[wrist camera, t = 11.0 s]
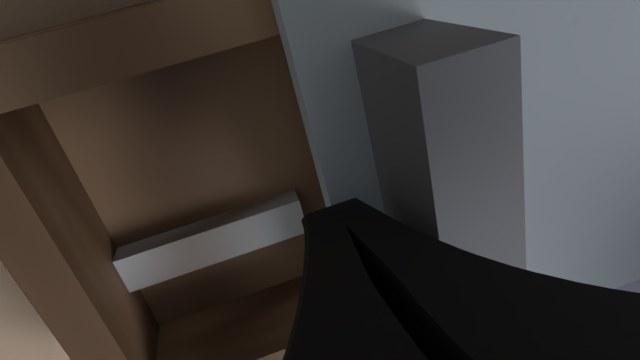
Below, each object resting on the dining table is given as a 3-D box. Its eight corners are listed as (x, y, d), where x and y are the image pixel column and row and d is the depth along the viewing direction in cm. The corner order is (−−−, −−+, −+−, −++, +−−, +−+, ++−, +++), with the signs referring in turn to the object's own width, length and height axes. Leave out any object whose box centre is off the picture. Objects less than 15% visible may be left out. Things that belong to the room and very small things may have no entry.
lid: (665, -133, 10) (924, -196, 6) (625, 256, 15) (758, 343, 11) (264, -26, 9) (306, -29, 5) (365, 355, 14) (422, 484, 10)
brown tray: (516, -97, 14) (628, -123, 10) (524, 206, 18) (600, 260, 15) (-28, 49, 12) (-128, 79, 8) (142, 341, 17) (126, 439, 13)
